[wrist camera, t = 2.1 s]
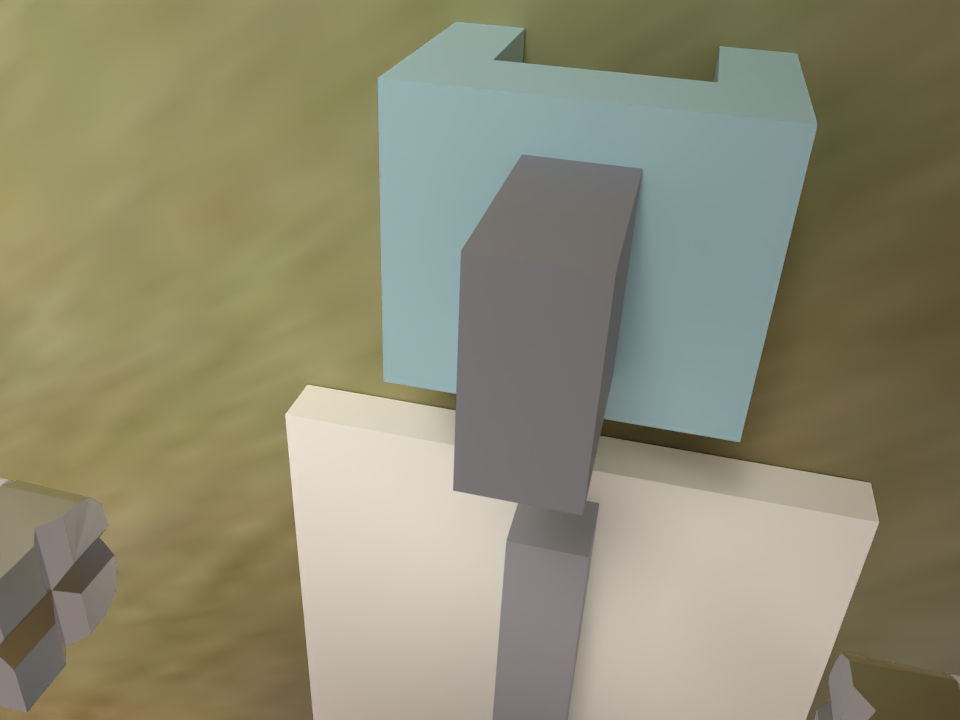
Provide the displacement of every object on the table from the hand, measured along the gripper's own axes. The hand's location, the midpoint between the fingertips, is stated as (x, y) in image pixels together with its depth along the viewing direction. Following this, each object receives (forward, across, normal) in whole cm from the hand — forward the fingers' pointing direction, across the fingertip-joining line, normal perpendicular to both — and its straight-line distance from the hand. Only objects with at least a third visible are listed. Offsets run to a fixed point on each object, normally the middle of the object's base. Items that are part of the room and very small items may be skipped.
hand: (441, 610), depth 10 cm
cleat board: (+13, 0, +13) cm, 18 cm away
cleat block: (+12, 0, -1) cm, 13 cm away
